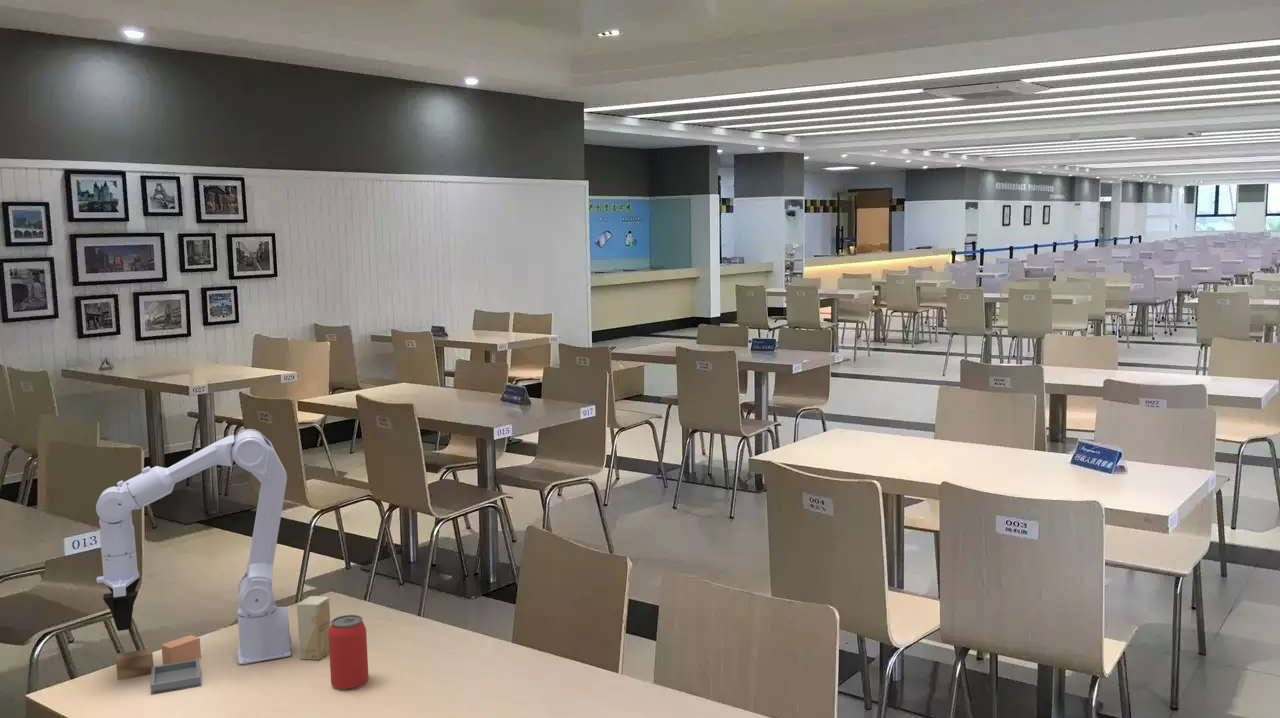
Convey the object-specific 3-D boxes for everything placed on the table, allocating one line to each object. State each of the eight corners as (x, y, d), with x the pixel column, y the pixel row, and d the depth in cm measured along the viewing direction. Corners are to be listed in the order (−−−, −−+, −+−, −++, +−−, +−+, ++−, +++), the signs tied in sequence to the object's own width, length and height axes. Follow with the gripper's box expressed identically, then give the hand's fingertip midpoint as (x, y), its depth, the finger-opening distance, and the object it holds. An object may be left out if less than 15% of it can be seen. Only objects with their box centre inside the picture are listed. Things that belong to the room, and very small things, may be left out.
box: (319, 660, 199) (316, 605, 198) (299, 659, 200) (295, 604, 199) (332, 650, 204) (329, 596, 203) (312, 649, 205) (309, 594, 204)
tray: (199, 667, 197) (199, 658, 197) (200, 685, 189) (200, 676, 189) (152, 675, 194) (151, 666, 194) (151, 694, 185) (150, 685, 185)
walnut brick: (153, 668, 198) (152, 648, 197) (153, 674, 195) (151, 654, 194) (118, 674, 195) (116, 653, 195) (117, 680, 192) (115, 660, 192)
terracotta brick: (192, 654, 204) (190, 634, 204) (201, 657, 202) (199, 638, 202) (162, 664, 199) (161, 644, 199) (171, 668, 197) (170, 648, 197)
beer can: (375, 678, 190) (372, 615, 189) (354, 693, 184) (351, 628, 183) (345, 674, 193) (342, 612, 191) (323, 688, 186) (320, 624, 185)
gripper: (97, 545, 197) (103, 614, 198) (91, 565, 183) (98, 639, 185) (138, 539, 199) (144, 608, 201) (135, 560, 186) (141, 632, 188)
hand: (124, 622), depth 193 cm, fingers open, 7 cm apart
